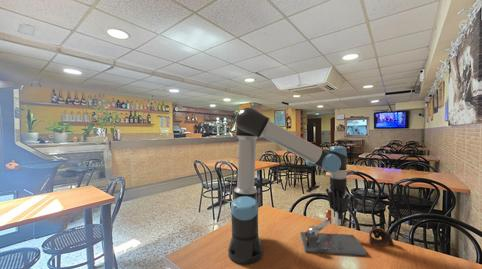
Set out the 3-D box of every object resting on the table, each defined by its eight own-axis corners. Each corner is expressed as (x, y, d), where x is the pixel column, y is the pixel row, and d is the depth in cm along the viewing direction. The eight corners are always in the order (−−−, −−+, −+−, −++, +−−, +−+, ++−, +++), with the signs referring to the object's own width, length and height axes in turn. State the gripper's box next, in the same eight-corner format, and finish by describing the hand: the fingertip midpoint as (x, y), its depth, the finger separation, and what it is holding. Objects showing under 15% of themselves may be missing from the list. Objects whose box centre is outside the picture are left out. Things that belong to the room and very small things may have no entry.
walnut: (306, 244, 94) (306, 238, 94) (305, 241, 96) (305, 235, 96) (312, 244, 93) (311, 238, 93) (310, 241, 96) (310, 235, 96)
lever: (312, 244, 92) (312, 224, 92) (303, 240, 95) (303, 221, 95) (334, 227, 107) (333, 210, 107) (325, 225, 111) (325, 208, 110)
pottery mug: (400, 250, 92) (394, 237, 90) (379, 258, 93) (373, 245, 91) (383, 231, 103) (378, 218, 101) (365, 238, 105) (359, 226, 103)
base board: (305, 252, 91) (304, 236, 91) (300, 236, 105) (300, 222, 105) (366, 256, 87) (366, 239, 87) (353, 238, 101) (353, 224, 101)
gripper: (355, 179, 99) (355, 228, 99) (331, 174, 110) (331, 218, 111) (345, 181, 95) (345, 231, 96) (322, 175, 106) (322, 221, 107)
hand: (337, 224), depth 103 cm, fingers closed
